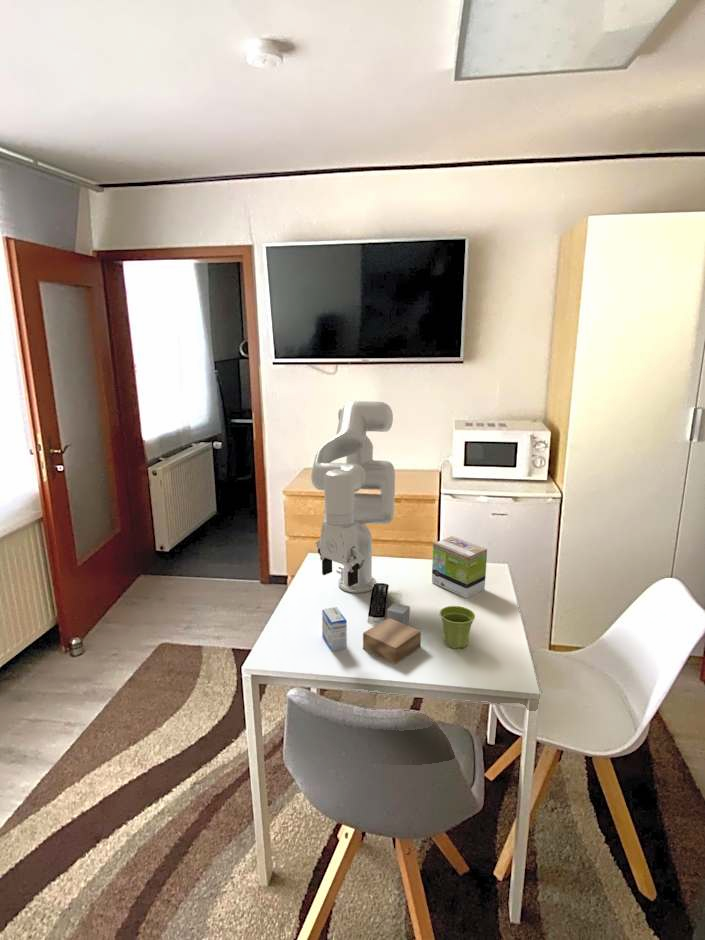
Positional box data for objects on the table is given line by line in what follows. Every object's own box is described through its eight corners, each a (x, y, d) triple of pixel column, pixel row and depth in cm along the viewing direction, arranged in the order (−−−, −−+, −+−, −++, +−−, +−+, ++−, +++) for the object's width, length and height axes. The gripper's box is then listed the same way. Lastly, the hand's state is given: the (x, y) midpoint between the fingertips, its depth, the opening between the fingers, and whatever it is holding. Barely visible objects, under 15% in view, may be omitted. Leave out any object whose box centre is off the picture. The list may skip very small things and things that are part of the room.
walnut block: (363, 649, 154) (363, 633, 153) (388, 633, 162) (388, 617, 161) (395, 665, 147) (395, 648, 146) (420, 647, 155) (420, 631, 154)
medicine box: (322, 637, 160) (321, 609, 158) (337, 634, 162) (336, 606, 159) (331, 651, 153) (331, 622, 151) (347, 648, 154) (347, 619, 152)
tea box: (430, 583, 192) (431, 542, 189) (450, 575, 199) (451, 535, 195) (466, 599, 181) (468, 556, 177) (485, 590, 187) (488, 547, 184)
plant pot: (446, 630, 163) (447, 602, 161) (478, 639, 158) (479, 610, 156) (433, 645, 155) (434, 617, 153) (466, 655, 151) (467, 626, 149)
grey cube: (386, 625, 166) (386, 609, 165) (394, 617, 170) (394, 602, 169) (402, 629, 164) (402, 613, 162) (409, 622, 168) (409, 606, 167)
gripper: (306, 513, 151) (307, 573, 156) (353, 529, 140) (353, 593, 144) (326, 507, 157) (327, 565, 161) (373, 521, 145) (373, 584, 149)
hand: (339, 578), depth 152 cm, fingers open, 9 cm apart
